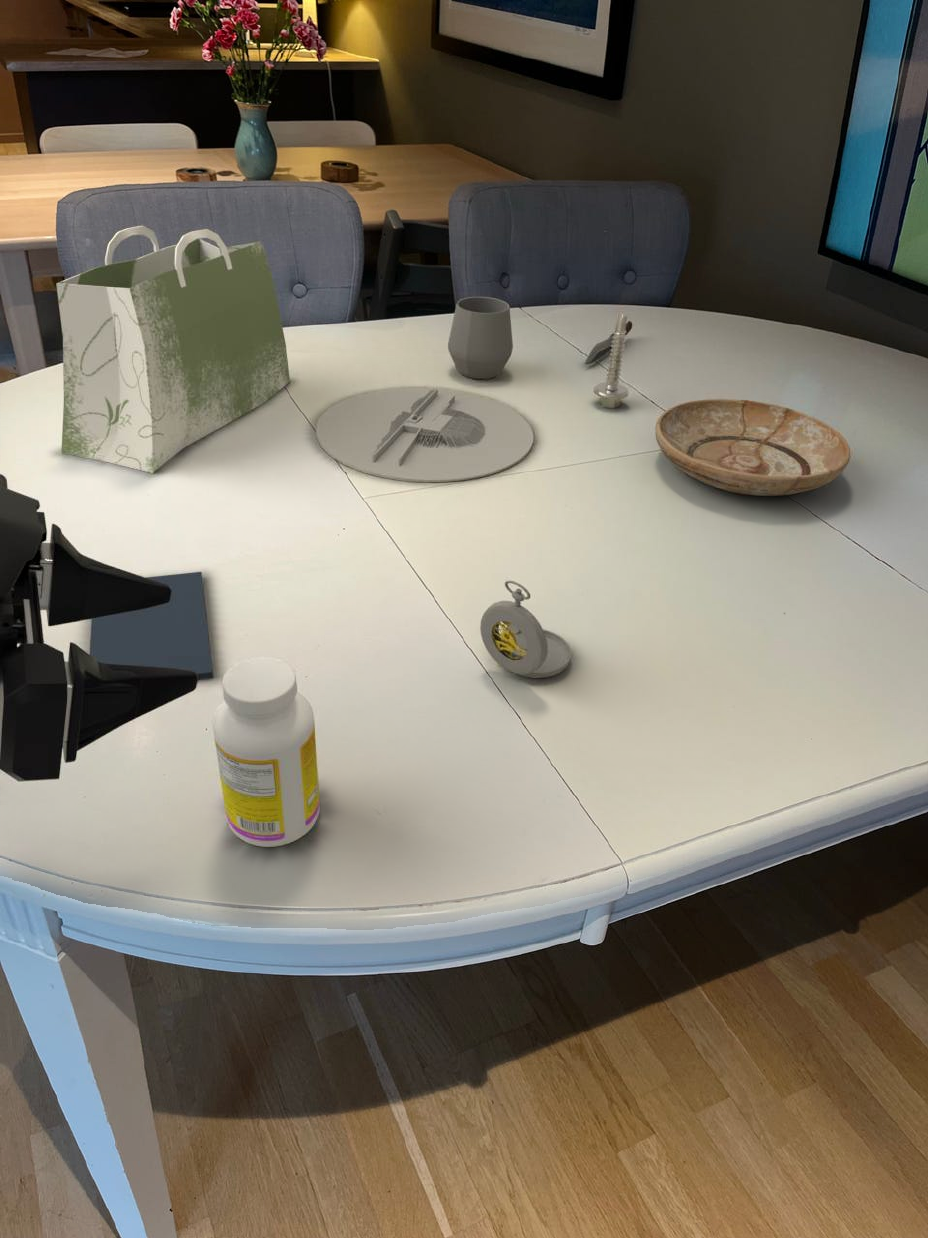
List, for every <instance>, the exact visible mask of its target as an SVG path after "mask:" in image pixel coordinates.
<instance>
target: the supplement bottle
mask: <svg viewBox="0 0 928 1238" xmlns="http://www.w3.org/2000/svg"><path fill="white" fill-rule="evenodd" d="M297 683H298V682H297V674H296V672H295V670H294V668H293V667H292V666H291V665H290V664H289V663H287V662H286V661H283V660H282V659H280V658H275V657H270V656H258V657H252V658H247V659H244V660H240V661H239V662H236V663H235V664H234V665H232V666H231V667H230V668H229V669H227V671H225V674H224V676H223V678H222V694H223V695H222V696H223V701H222V702H220V703H219V706H218V707H217V709H216V710H215V713H214V715H213V721H212V730H213V738H214V739H213V740H214V745H215V750H216V757H217V763H218V770H219V776H220V784H221V791H222V796H223V804H224V810H225V817H226V821H227V825H228V826H229V828H230V830H231V831H232V832H233V833H234V834H235V835H236V837H237V838H239V839H240V840H241V841H243V842H245V843H247V844H250V845H253V846H257V847H264V848H275V847H279V846H285V845H288V844H291V843H293V842H295V841H297V840H299V839H300V838H302V837H303V836H305V835H306V834H307V833H308V832H310V830H311V829H312V828H313V827H314V826H315V824H316V822H317V820H318V817H319V814H320V810H321V809H320V808H321V804H320V786H319V785H320V784H319V771H318V757H317V743H316V742H317V741H316V729H315V728H316V726H315V725H316V724H315V715H314V710H313V707H312V705H311V703H310V701H309V700H308V699H307V697H306V696H304V695H303V693H301V692H299V691H298V684H297Z"/></svg>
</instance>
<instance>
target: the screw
mask: <svg viewBox="0 0 928 1238" xmlns="http://www.w3.org/2000/svg"><path fill="white" fill-rule="evenodd" d="M627 319H628V315H627V314H626V313H625V312H624V311H621V312H620V313H618V314H616V322H615V328H614V331H613V332H612V334H613V333H614V336H613V337H612V338H613V341H611V342H613V343H612V345H611V347H612V349H611V350H610V351H609V352H610V353H609V356H610V357H609V358H608V359H609V361H608V365H607V368H608V369H607V374H606V377H607V378H605V380H606V381H605V382H600V383H598V384H596V385H595V386H594V387H593V393H594V394H595V395H596V396H597V397H599V404H600V405H601V406H602V407H603V408H609V409H615V408H617V407H619V406H620V403H621V400H623V399H626V398H627V397H628V396H629V395H630V394H629V393H630V391H629V389H628V388H627V387H626V386H624V385H623V384H620V379H621V378H620V376H621V372H622V369H621V368H622V366H623V365H622V364H623V359H624V354H625V353H624V351H625V346H626V344H625V343H626V341H627V340H626V338H627V335H625V333H626V330H625V328H626V324H627V322H628V320H627Z"/></svg>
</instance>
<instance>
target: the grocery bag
mask: <svg viewBox="0 0 928 1238" xmlns="http://www.w3.org/2000/svg"><path fill="white" fill-rule="evenodd" d="M139 235H141V236H144V237H146V238H149V240H150V241H151V244H152V246H153V252H150V253H148V254H145V255H143V256H140V257H137V258H135V259H128V260H125V261H119V262H115V263H113V257H114V252H115V249H116V248H117V247H118V246H119V244H120V243H121V242H122V241H124V240H125V239H128V238H130V237H131V236H139ZM179 239H180V240H179V241H178V243H177V244H173V245H170V246H166V247H164V248H160V246H159V245H160V244H159V241H158V239H157V235H156V233H155V231H154V230H152V229H150V228H148V227H147V226H145V225H137V226H132V227H127V228H124V229H122V230H119V231H116V233H115V234H114V236H113V237H112V238H111V240H109V242H108V244H107V248H106V252H105V257H104V265H101V266H96V267H93V268H91V269H89V270H86V271H84V272H81V273H79V274H75V275H74V276H72V277H69V278H66V279H64V280H61V281H59V282H56V283H55V284H56V292H57V301H58V308H59V318H60V326H61V335H62V360H63V361H62V365H63V366H62V367H63V368H62V369H63V370H62V371H63V376H62V377H63V379H62V380H63V409H62V410H63V411H62V432H61V454H64V455H65V454H66V455H71V456H76V457H81V458H85V459H91V460H95V461H100V462H106V463H110V464H115V465H118V466H121V467H126V468H131V469H134V470H139V471H143V472H146V473H150V474H154V473H155V472H156V471H157V470H159V469H160V468H161V467H163V466H164V465H165V464H166V463H167V462H169V461H170V460H171V459H172V458H173V457H174V456H176V455H177V454H178V453H180V452H181V451H182V450H183V449H185V448H186V447H188V446H190V445H192V444H194V443H195V442H198V441H199V440H201V439H202V438H205V437H206V436H208V435H210V434H211V433H213V432H215V431H217V430H219V429H220V428H222V427H224V426H226V425H227V424H229V423H231V422H233V421H235V420H237V419H238V418H240V417H242V416H244V415H246V414H247V413H249V412H251V411H252V410H255V409H257V408H258V407H260V406H261V405H263V404H265V403H266V402H267V401H268V400H270V399H271V398H272V397H273V396H275V395H276V394H277V393H278V392H280V391H281V390H282V389H283V388H285V387H286V386H287V385H288V384H289V383H290V382H291V378H290V369H289V358H288V352H287V343H286V338H285V333H284V329H283V328H284V327H283V323H282V317H281V314H280V307H279V303H278V297H277V293H276V287H275V283H274V280H273V276H272V273H271V269H270V266H269V262H268V258H267V255H266V252H265V249H264V245H263V241H262V240H261V241H256V242H251V243H250V242H249V243H245V244H238V245H233V246H226V244H225V242H224V241H223V239H222V238H221V237H220V235H219V234H218V233H216V232H214V231H213V230H210V229H209V228H203V229H198V230H193V231H189V232H188V233H185V234H183V235H182V236H181V238H179ZM203 239H208V240H210V241H213V242H214V243H215V244H216V245H217V246H218V247H217V246H216V245H213V244H211V243H209V242H207V241H206V240H203Z"/></svg>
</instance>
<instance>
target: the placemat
mask: <svg viewBox="0 0 928 1238" xmlns="http://www.w3.org/2000/svg"><path fill="white" fill-rule="evenodd" d="M145 578H148V579H151V580H154V581H157V582H160V583H163V584H166V585H169V586H170V587H171V590H172V592H171V598H170V601H169V602H168V603H166V604H162V605H158V606H154V607H150V608H146V609H141V610H136V611H131V612H125V613H120V614H114V615H109V616H104V617H98V618H93V619H90V620H91V621H90V640H89V641H90V642H89V655H90V656H92V657H93V658H94V659H96V660H97V661H98V662H101V663H105V664H119V665H134V666H149V667H164V668H175V669H182V670H189V671H194V672H196V673H197V675H198V680H201V679H202V680H203V679H208V678H214V672H213V663H212V654H211V653H212V652H211V645H210V635H209V625H208V617H207V609H206V600H205V598H206V597H205V589H204V580H203V573H202V571H195V572H185V573H175V574H166V575H156V576H148V577H147V576H146V577H145Z"/></svg>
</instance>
